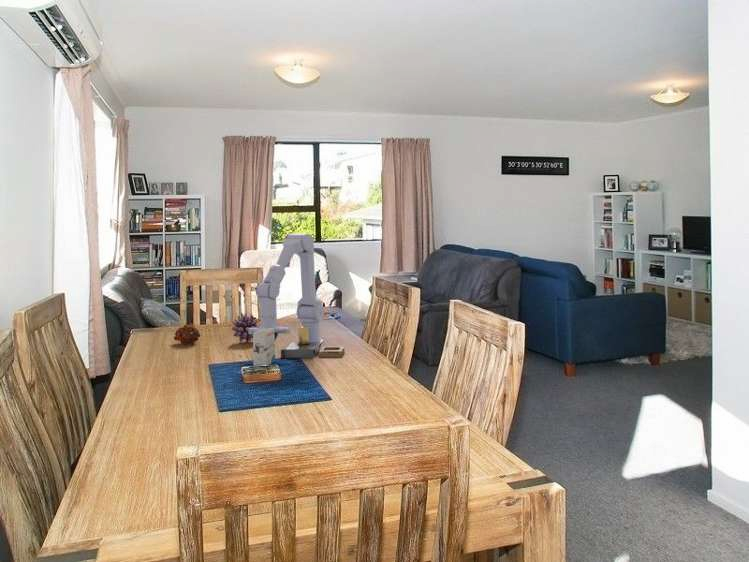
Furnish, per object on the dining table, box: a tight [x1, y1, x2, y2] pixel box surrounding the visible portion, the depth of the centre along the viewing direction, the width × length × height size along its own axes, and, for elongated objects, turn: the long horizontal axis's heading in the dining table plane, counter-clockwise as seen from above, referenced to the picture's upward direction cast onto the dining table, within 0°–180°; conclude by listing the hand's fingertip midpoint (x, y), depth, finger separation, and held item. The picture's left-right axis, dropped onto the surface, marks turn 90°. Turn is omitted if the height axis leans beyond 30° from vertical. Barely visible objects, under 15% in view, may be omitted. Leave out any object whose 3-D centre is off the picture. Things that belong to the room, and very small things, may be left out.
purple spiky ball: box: [231, 312, 261, 343], centre depth 250 cm, size 12×12×12 cm
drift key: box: [280, 347, 286, 358], centre depth 222 cm, size 3×9×3 cm, turn 86°
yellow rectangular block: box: [297, 325, 309, 346], centre depth 228 cm, size 4×4×10 cm
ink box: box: [252, 328, 276, 367], centre depth 211 cm, size 9×5×12 cm, turn 168°
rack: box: [318, 346, 345, 358], centre depth 224 cm, size 8×8×2 cm
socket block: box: [284, 341, 320, 359], centre depth 226 cm, size 13×10×3 cm
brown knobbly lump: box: [173, 323, 201, 345], centre depth 250 cm, size 8×8×12 cm
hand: (270, 353), depth 223 cm, fingers closed
